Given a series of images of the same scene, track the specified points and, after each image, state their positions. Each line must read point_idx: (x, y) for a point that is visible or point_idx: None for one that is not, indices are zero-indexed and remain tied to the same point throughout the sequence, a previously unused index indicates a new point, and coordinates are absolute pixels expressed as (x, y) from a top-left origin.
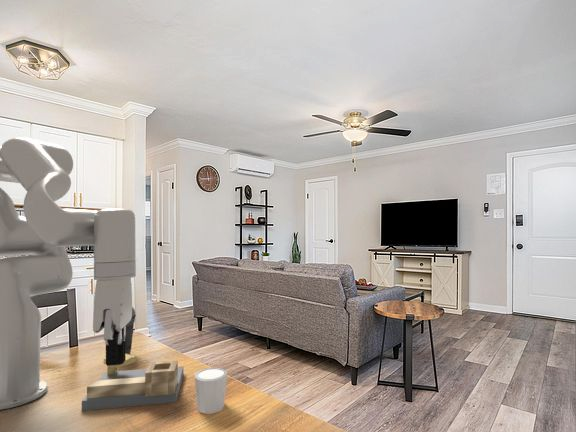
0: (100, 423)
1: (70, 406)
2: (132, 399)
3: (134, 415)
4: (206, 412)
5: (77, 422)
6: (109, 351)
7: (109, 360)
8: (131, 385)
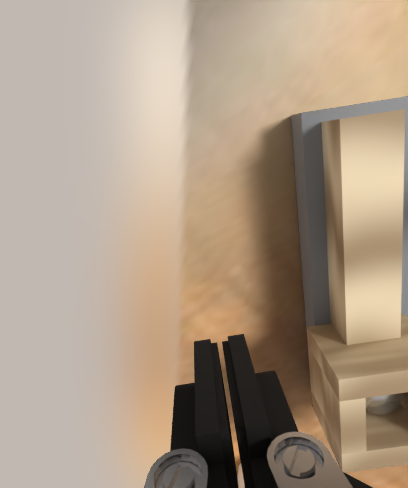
0: (204, 222)
1: (331, 50)
2: (309, 283)
3: (244, 302)
4: (238, 471)
5: (214, 144)
6: (173, 433)
7: (175, 387)
8: (342, 290)
